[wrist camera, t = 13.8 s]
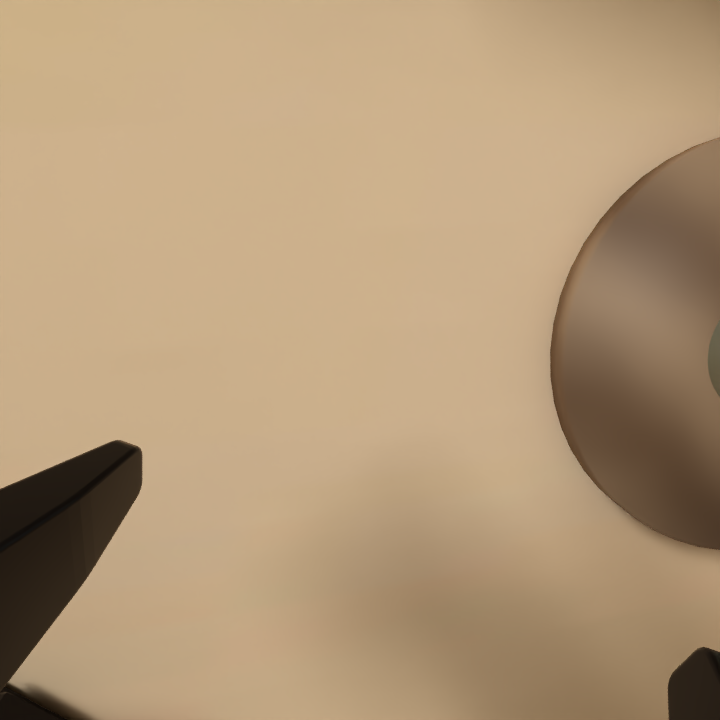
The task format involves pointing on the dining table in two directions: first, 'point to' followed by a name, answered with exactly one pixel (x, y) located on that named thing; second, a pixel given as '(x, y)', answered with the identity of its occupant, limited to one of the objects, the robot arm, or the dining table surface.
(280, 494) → the dining table surface
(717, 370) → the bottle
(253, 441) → the dining table surface
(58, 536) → the robot arm
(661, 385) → the disc
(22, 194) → the dining table surface
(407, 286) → the dining table surface
